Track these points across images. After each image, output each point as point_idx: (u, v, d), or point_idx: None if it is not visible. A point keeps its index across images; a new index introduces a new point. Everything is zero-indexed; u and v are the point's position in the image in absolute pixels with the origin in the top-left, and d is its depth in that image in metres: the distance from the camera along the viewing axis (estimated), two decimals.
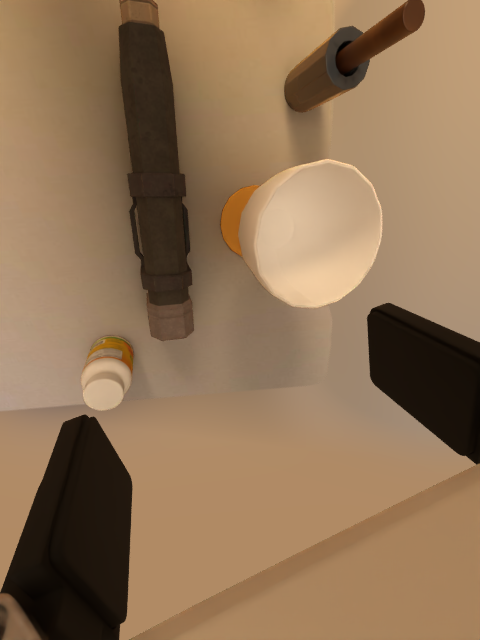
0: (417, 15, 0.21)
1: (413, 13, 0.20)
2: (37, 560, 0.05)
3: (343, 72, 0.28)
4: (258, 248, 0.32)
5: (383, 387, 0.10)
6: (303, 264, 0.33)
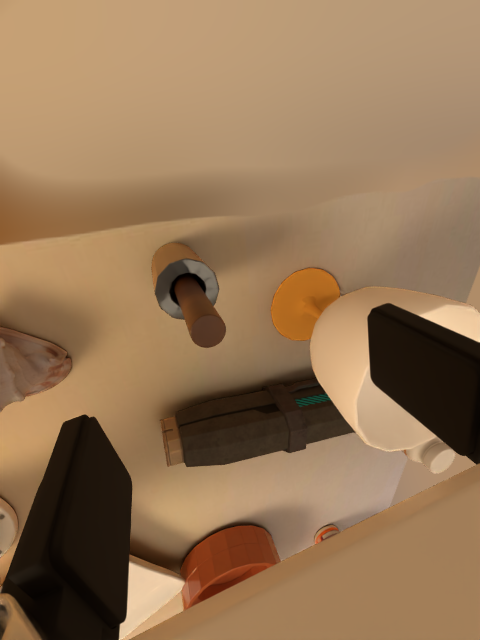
0: (208, 326, 0.15)
1: (207, 333, 0.15)
2: (37, 560, 0.05)
3: None
4: None
5: (383, 387, 0.10)
6: None
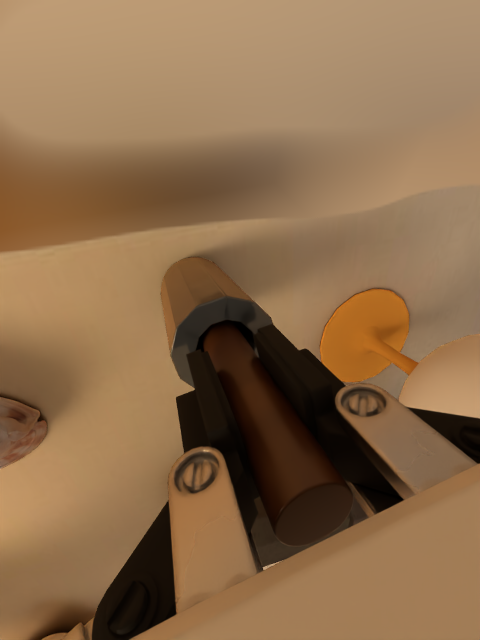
0: (317, 506, 0.06)
1: (313, 519, 0.06)
2: (223, 425, 0.07)
3: None
4: None
5: None
6: None
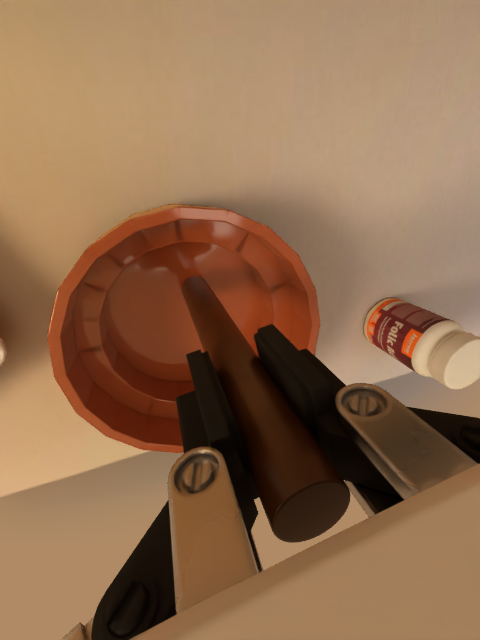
0: (315, 503, 0.06)
1: (310, 516, 0.06)
2: (223, 425, 0.07)
3: None
4: None
5: None
6: None
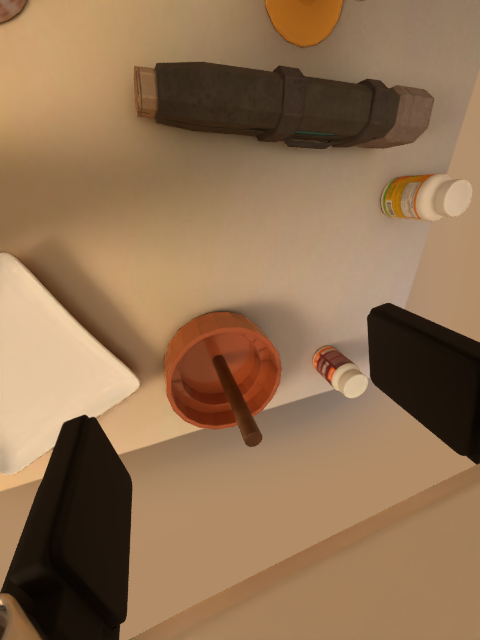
0: (254, 437, 0.29)
1: (253, 440, 0.30)
2: (37, 560, 0.05)
3: None
4: None
5: (383, 387, 0.10)
6: None
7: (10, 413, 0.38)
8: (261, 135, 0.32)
